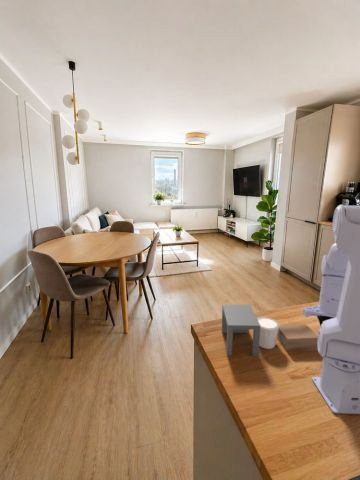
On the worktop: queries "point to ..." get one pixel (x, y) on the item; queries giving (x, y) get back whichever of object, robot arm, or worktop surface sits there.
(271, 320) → the white cylinder
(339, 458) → the worktop surface
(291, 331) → the tan wooden chunk
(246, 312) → the grey tunnel arch
